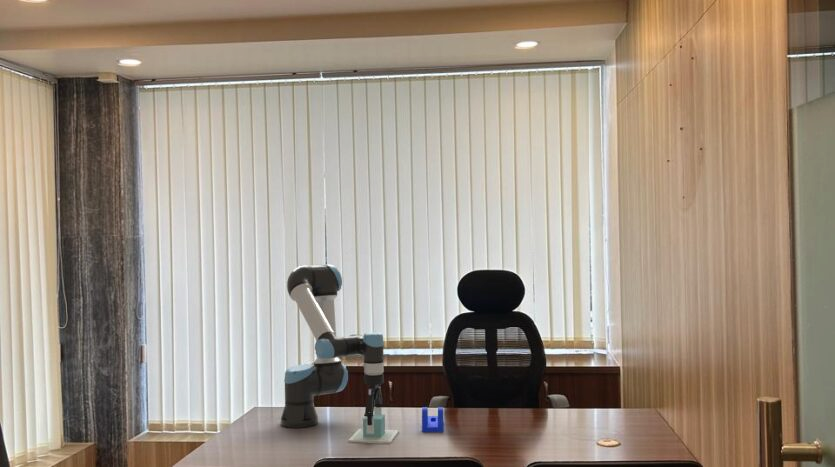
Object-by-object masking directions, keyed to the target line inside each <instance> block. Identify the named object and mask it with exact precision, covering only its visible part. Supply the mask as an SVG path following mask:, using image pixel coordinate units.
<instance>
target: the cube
mask: <svg viewBox="0 0 835 467" xmlns="http://www.w3.org/2000/svg"><path fill="white" fill-rule="evenodd" d="M373 416H374V434H366V416H364V417H362V429H363V437H379V438H381V437H382V436H383V435H384V433H385V430H386V418H385V417H386V415H385V414H374V413H373Z"/></svg>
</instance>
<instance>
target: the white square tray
mask: <svg viewBox="0 0 835 467" xmlns="http://www.w3.org/2000/svg"><path fill="white" fill-rule="evenodd" d="M398 434H399V430H398V429H397V430H396V429H385V433H384V435H383V436H382V437H381V438H379V437H363V428H359V429H357V430H356V432H354V434H353V435H352V436H351V437H350V438H349V439H348V443H358V444H359V443H362V444H363V443H364V444H383V445H385V444H387V445H389V444H390V445H391V444H392V443H393V441H394V440H395V439H396V437H397V436H398Z"/></svg>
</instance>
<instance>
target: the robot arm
mask: <svg viewBox="0 0 835 467" xmlns="http://www.w3.org/2000/svg"><path fill="white" fill-rule="evenodd" d="M342 286H343V278H342V274H341V272H340V270H339V269H338V267H336V266H335V265H333V264H315V265H313V264H311V265H310V264H309V265H300V266H297V267H296V268H294V269H293V270H292V271H291V272H290V274H289V276H288V278H287V282H286V288H287V293H288V296H289V297H290V299H291V300H292V301H294V302H295V303H296V304H297V307H298V310H299V311H300V312H301V314H302V316H303V318H304V320H305V321H306V324H307V326H308V327H309V330H310V332H311V333H312V335H313V337H314V339H315V343H314V350H315V354H316V355H315V356H316V359H315V360H314V361H313V364H310V363H309V364H307V363H304V364H297V365H292V366H290V367H289V368H287V369H286V370H285V372H284V380H283V382H284V407H283V411H282V414H281V417H280V425H281V426H282V427H285V428H292V429H299V428H300V429H301V428H310V427H314V426H316V425H317V424H318V423H319V416H318V414H317V410H316V407H315V404H314V401H315V400H314V397H316V396H322V395H329V394H332V395H333V394H335V393H339V392H342V391H344V389H345V388H346V387H347V384H348V380H349V372H348V369H347V367H346V365H345V364H343V363H342V359H340V357H341V358H342V357H352V356H363V364H362V367H363V373H364V374H363V384H365V385H367V386H369V387H368V389H366V399H365V409H364V411H365V412H364V414H363V416H364V417H365V416H366V434H374V416H373V414H382V408H384V404H383V403H384V402H383V395H382V384H384V378H385V377H384V372H385V370H384V369H385V368H384V345H385V344H384V343H385V342H384V335H383V334H382V333H381V332H376V331H375V332H374V331H371V332H365V333H364V334H363V335H362V334H358V333H356V334H354V333H353V334H350V335H348V336H339V337H337V328H336V313H335V312H336V310H335V299H336V298H337V297H338V292H339V291H341V290H342ZM382 415H383V414H382Z"/></svg>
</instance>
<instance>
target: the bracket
mask: <svg viewBox="0 0 835 467" xmlns="http://www.w3.org/2000/svg"><path fill="white" fill-rule="evenodd" d="M428 408H429V407H428V406H425V407H424V406H423V407H421V432H422V433H444V424H445V423H444V421H445V419H444V407H440V406H438V407H437V415H429V410H428Z"/></svg>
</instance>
